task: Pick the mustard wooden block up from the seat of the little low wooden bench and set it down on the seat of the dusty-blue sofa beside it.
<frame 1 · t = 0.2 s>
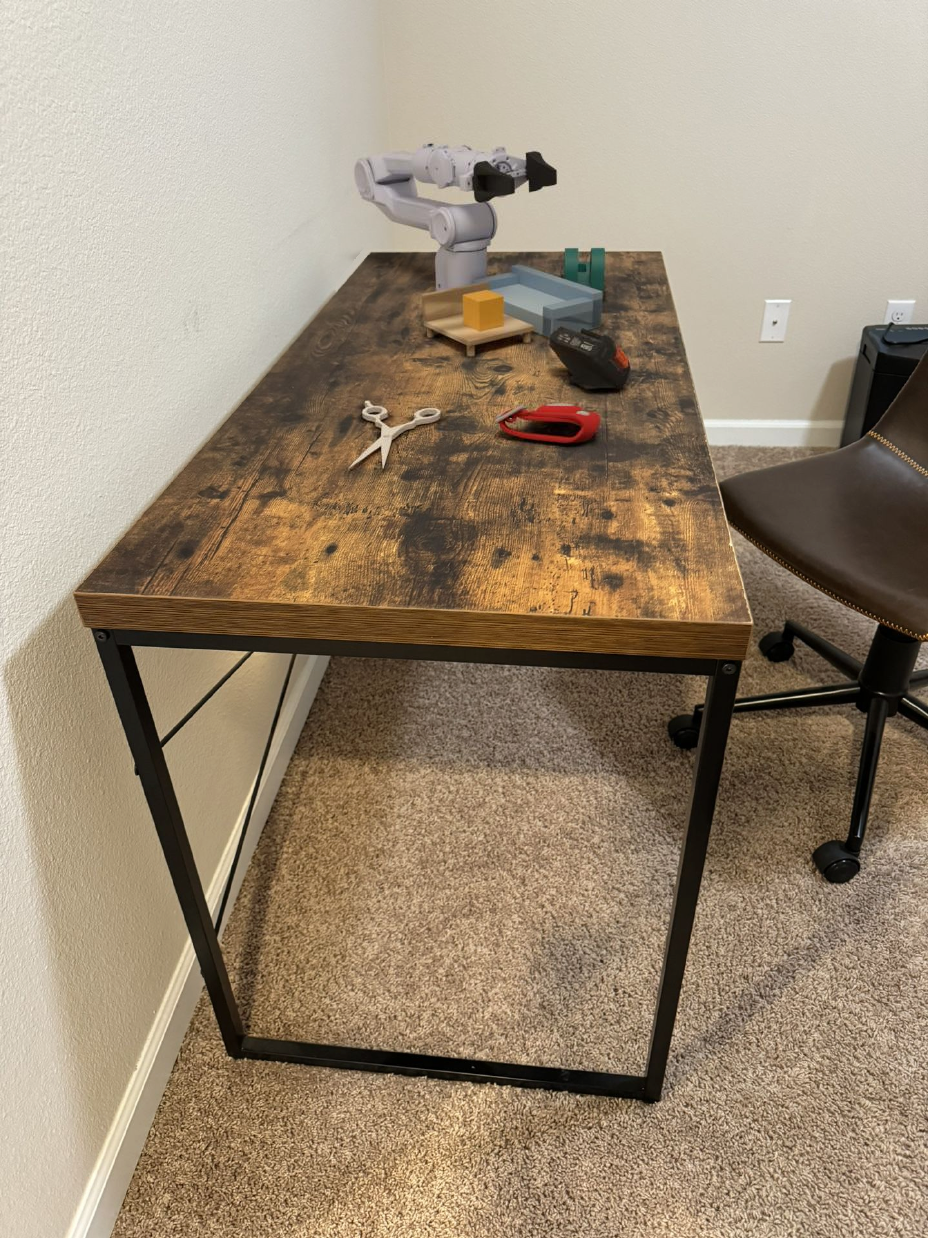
hand: (534, 181, 135), 21 cm above the table, tool horizontal, fingers open, 7 cm apart
tracker holder: (546, 433, 113), on the table
scissors: (386, 439, 112), on the table
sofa: (534, 316, 152), on the table
low wooden bench: (478, 338, 143), on the table
block: (483, 325, 140), point 2 cm above the table, touching low wooden bench
battery: (588, 383, 126), on the table
bracket: (581, 287, 166), on the table
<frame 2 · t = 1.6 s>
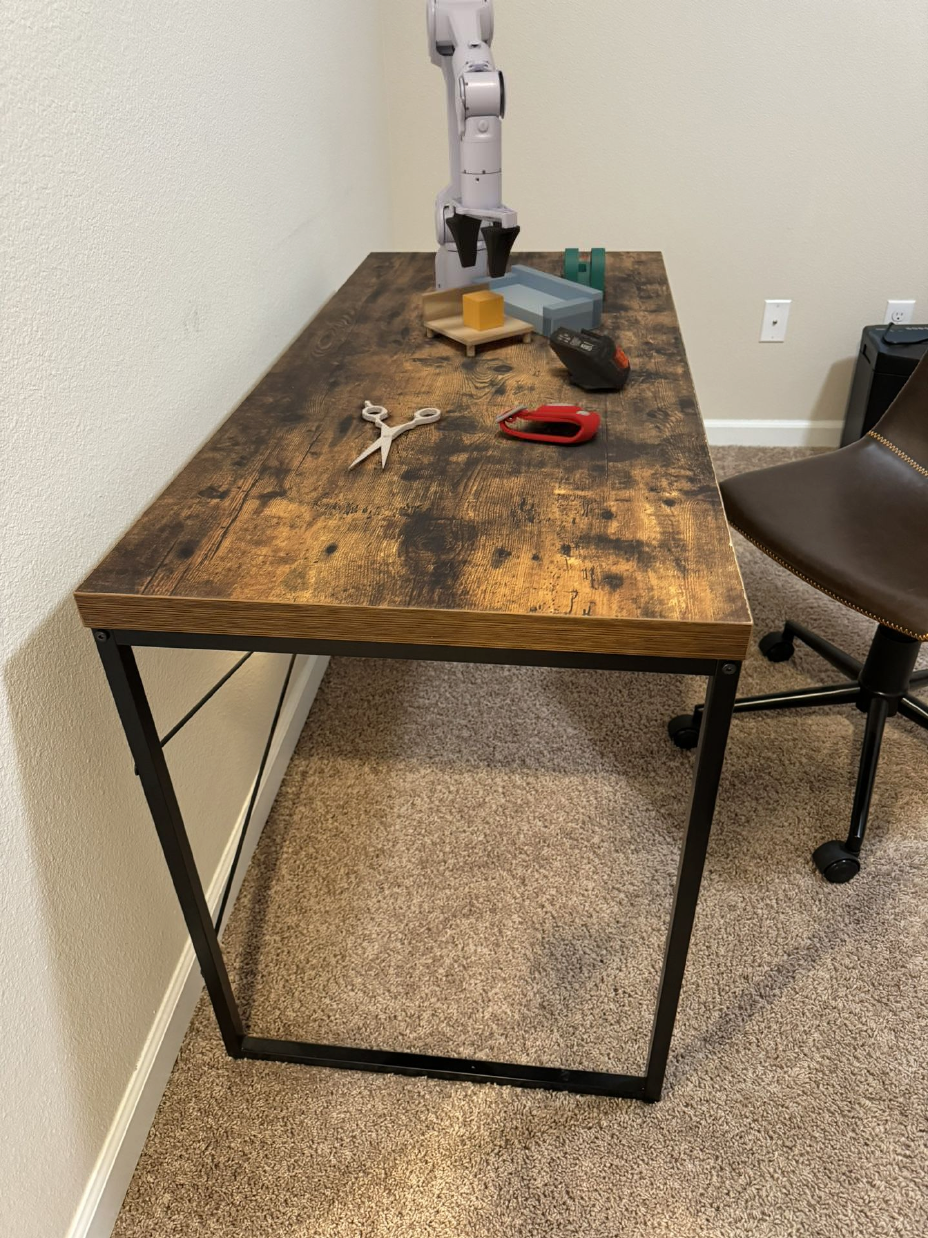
hand: (482, 271, 136), 10 cm above the table, tool pointing down, fingers open, 7 cm apart
nothing on the table moved.
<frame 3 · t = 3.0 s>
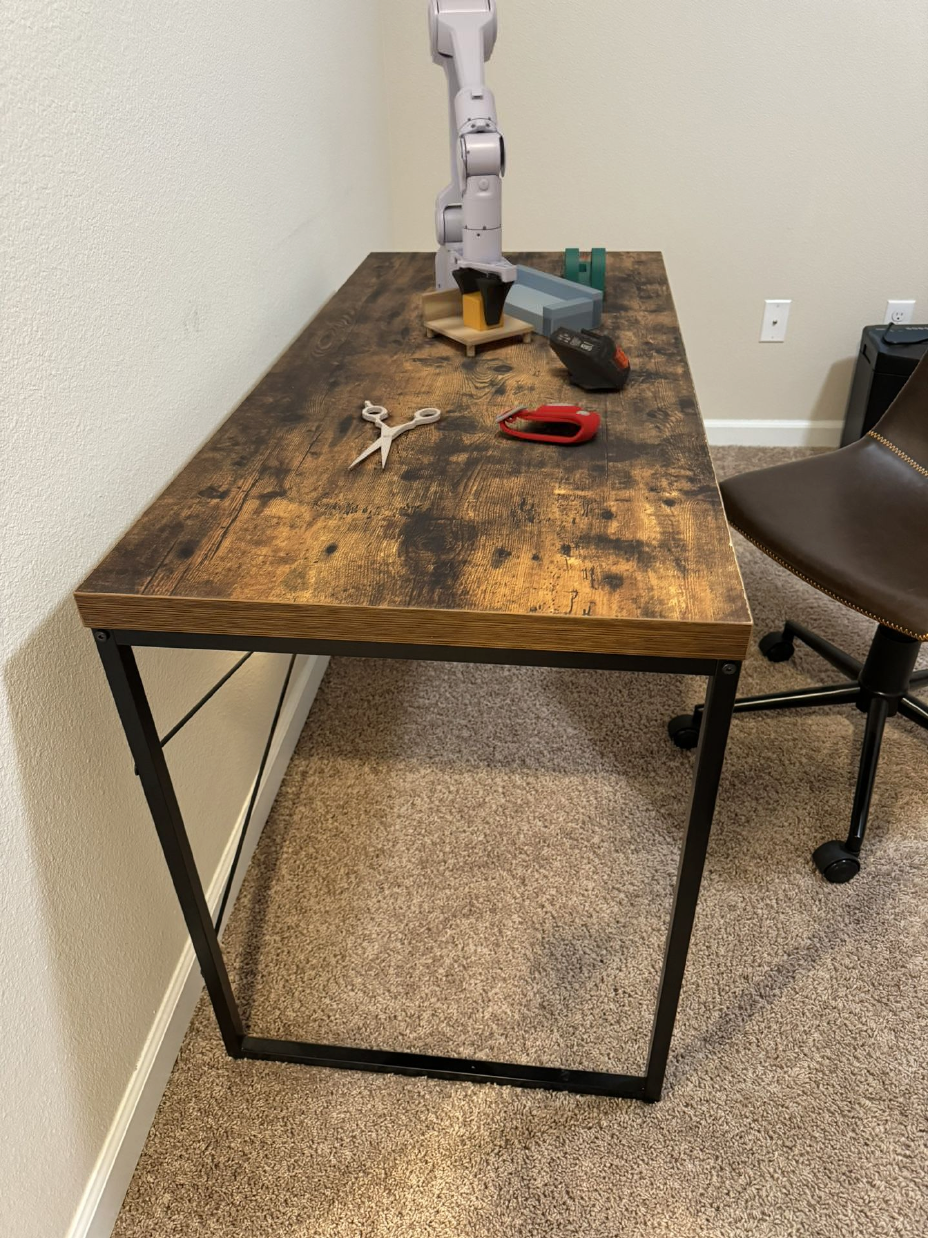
hand: (483, 320, 140), 3 cm above the table, tool pointing down, fingers closed on block, 4 cm apart
block: (483, 325, 140), point 2 cm above the table, touching low wooden bench, gripper
everything else where it was.
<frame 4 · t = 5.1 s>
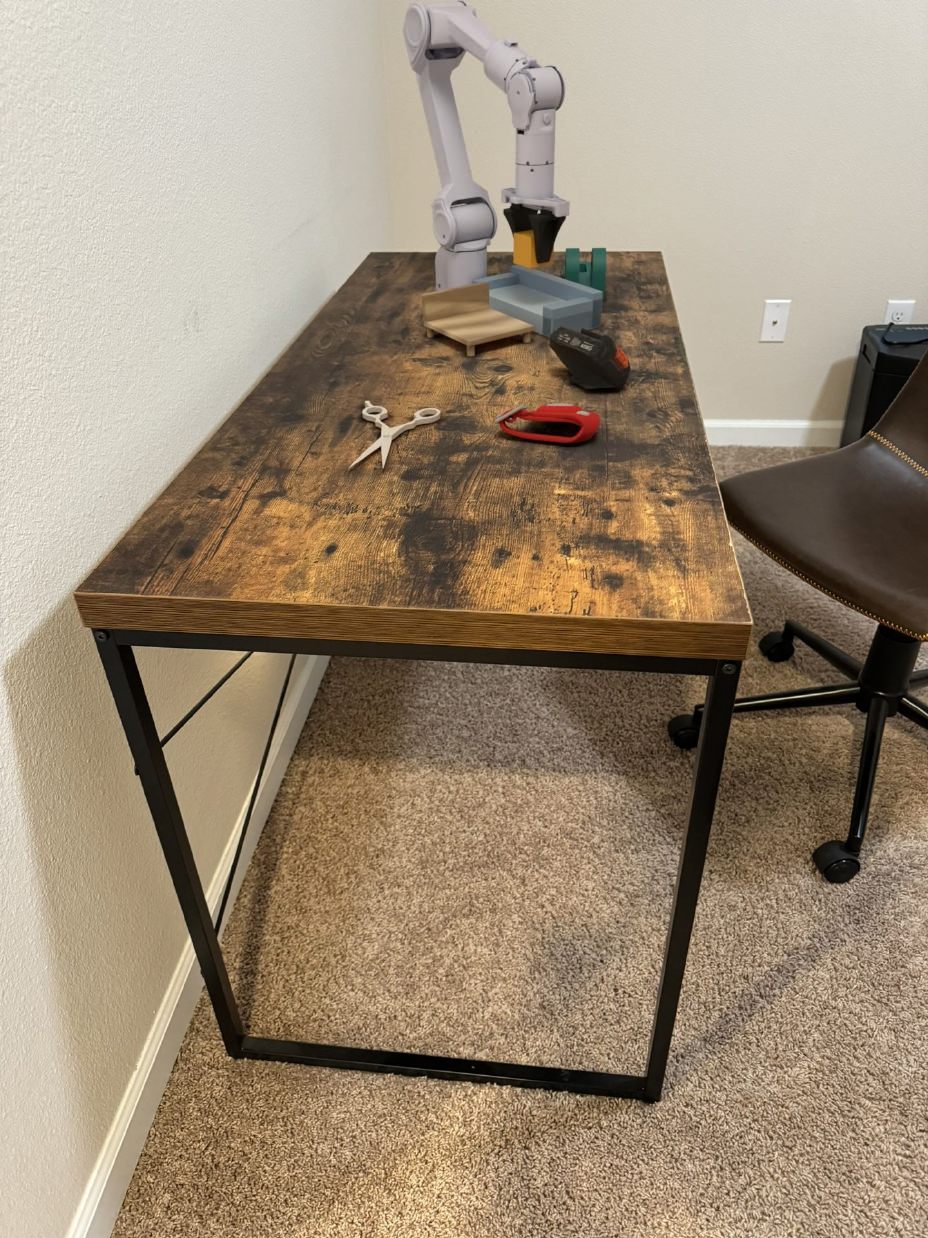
hand: (533, 258, 142), 10 cm above the table, tool pointing down, fingers closed on block, 4 cm apart
block: (533, 263, 143), point 9 cm above the table, touching gripper
everything else where it was.
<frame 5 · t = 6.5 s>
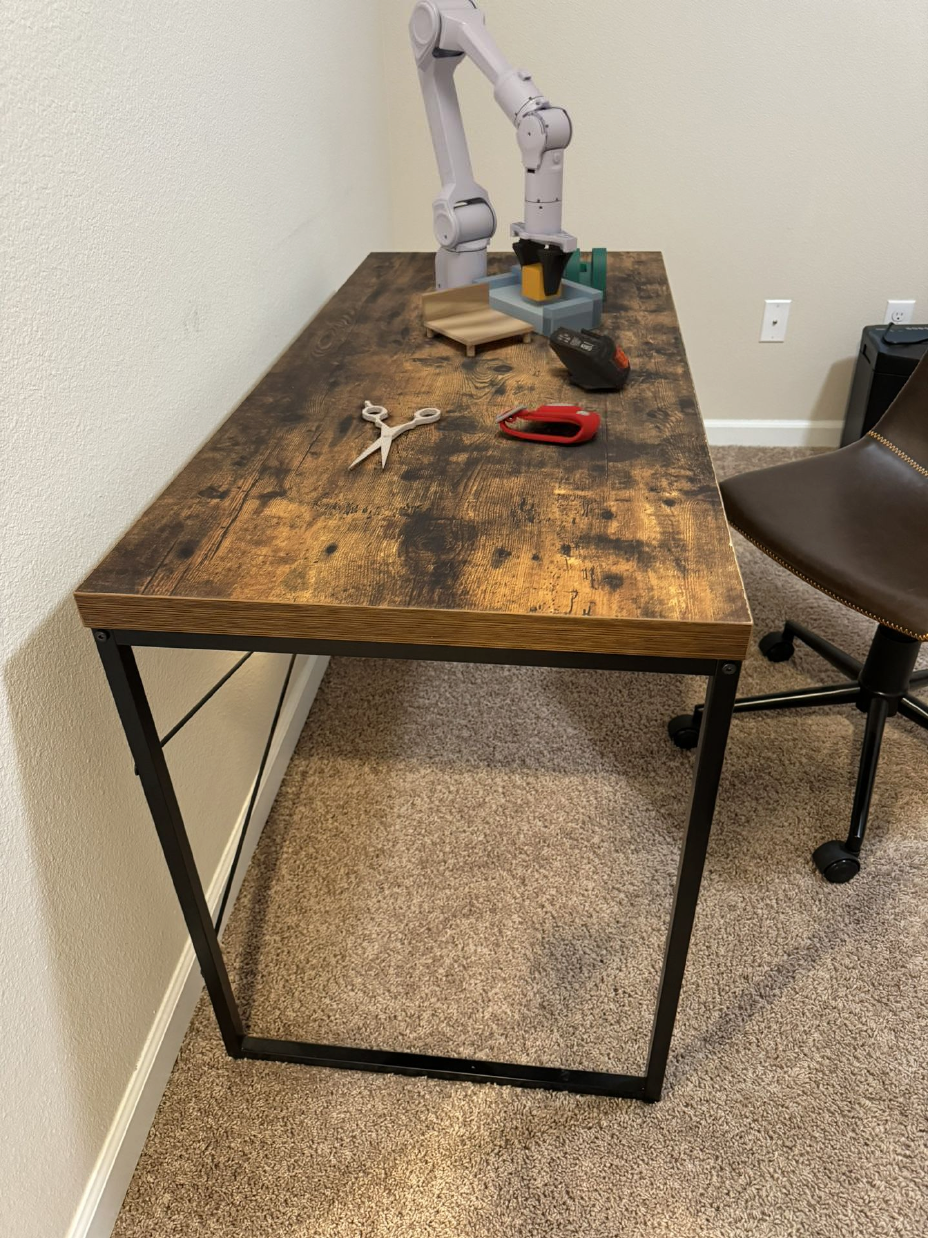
hand: (541, 291, 146), 5 cm above the table, tool pointing down, fingers closed on block, 4 cm apart
block: (541, 295, 147), point 4 cm above the table, touching gripper
everything else where it was.
when the fingers open (4 cm above the table, at t = 7.3 s): block stays where it is, resting on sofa.
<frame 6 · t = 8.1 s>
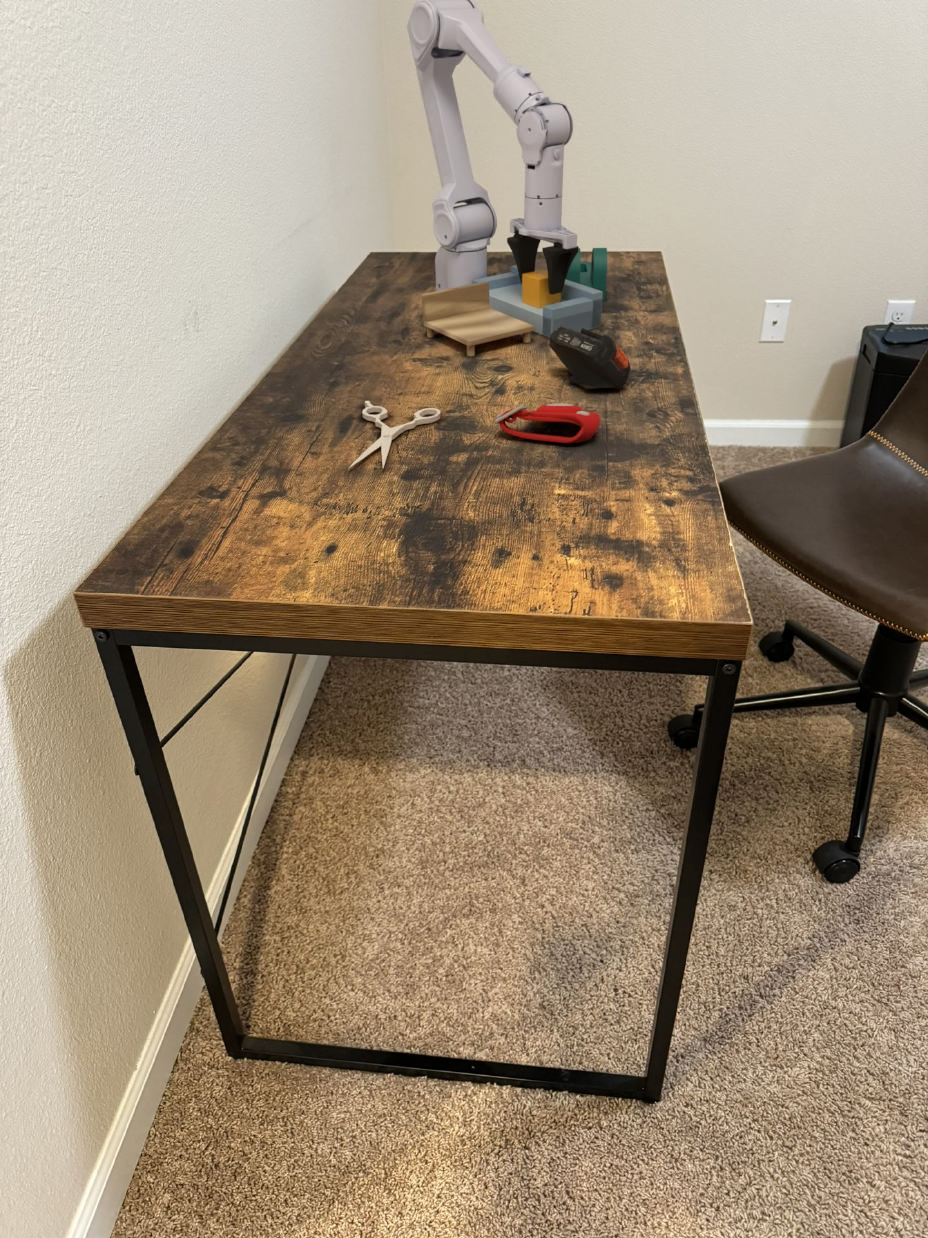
hand: (541, 287, 146), 5 cm above the table, tool pointing down, fingers open, 7 cm apart
block: (541, 303, 147), point 3 cm above the table, touching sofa
everything else where it was.
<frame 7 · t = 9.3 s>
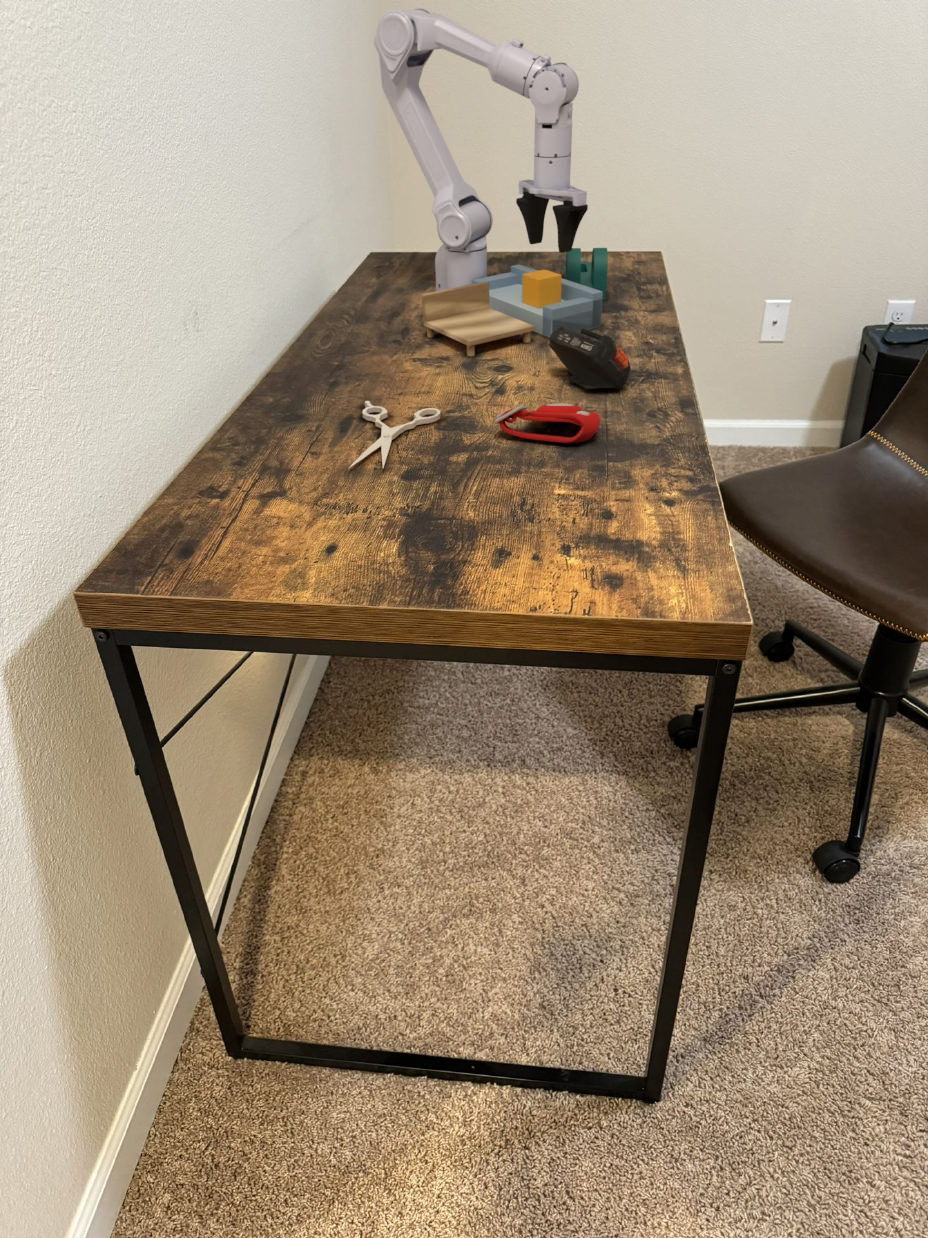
hand: (550, 247, 149), 10 cm above the table, tool pointing down, fingers open, 7 cm apart
nothing on the table moved.
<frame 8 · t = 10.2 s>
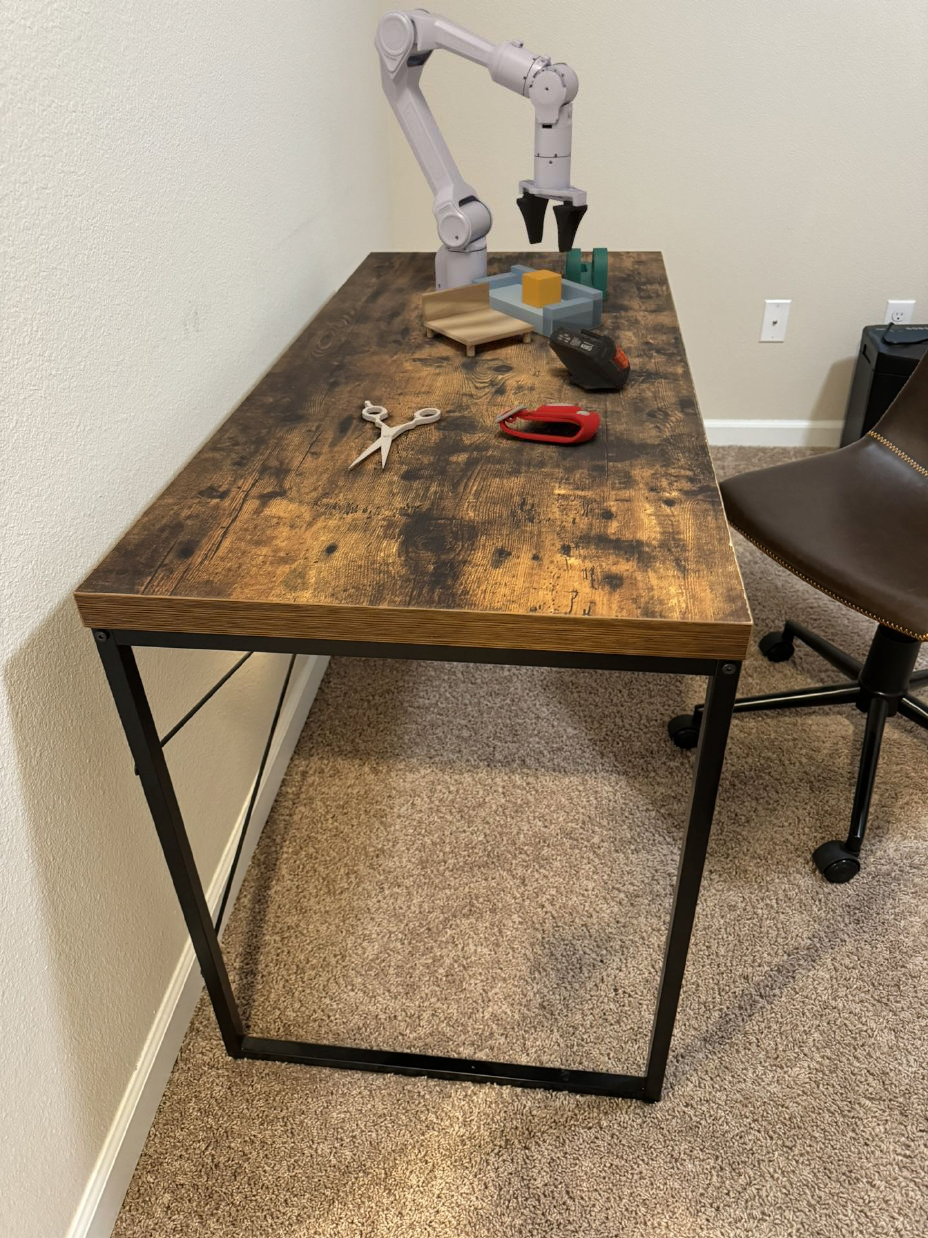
hand: (550, 247, 149), 10 cm above the table, tool pointing down, fingers open, 7 cm apart
nothing on the table moved.
at the end: block inside the target area on the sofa (3.1 cm from its centre), point 3.0 cm above the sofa's base; block tilted 0°; block touching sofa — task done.
